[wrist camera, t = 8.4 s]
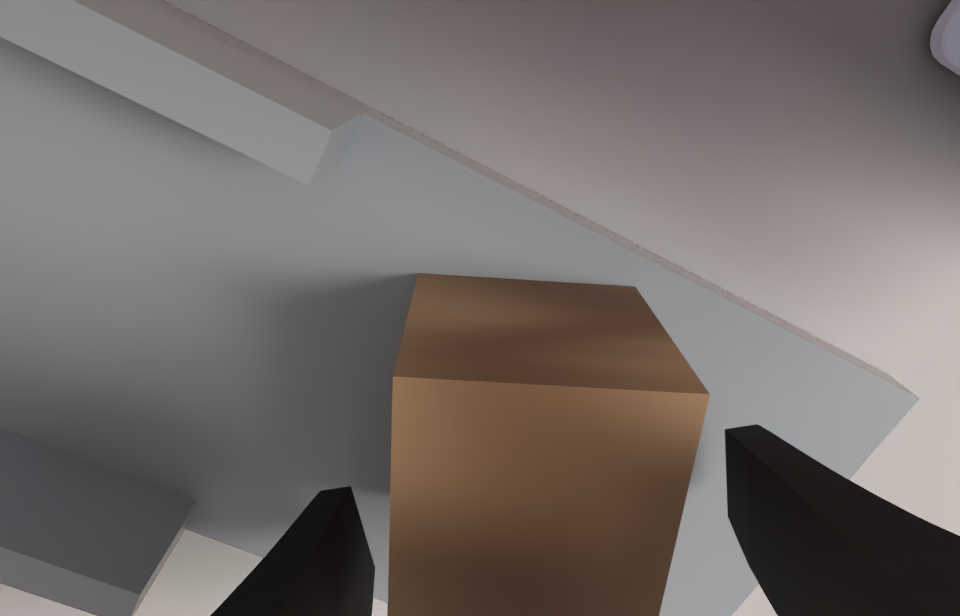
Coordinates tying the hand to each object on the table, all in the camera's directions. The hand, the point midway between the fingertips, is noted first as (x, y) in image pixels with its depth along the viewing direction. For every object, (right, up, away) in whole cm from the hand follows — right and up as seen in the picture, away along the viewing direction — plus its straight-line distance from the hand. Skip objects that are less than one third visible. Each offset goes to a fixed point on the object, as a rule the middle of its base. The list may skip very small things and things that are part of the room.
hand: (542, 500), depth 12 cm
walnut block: (0, +2, 0) cm, 2 cm away
